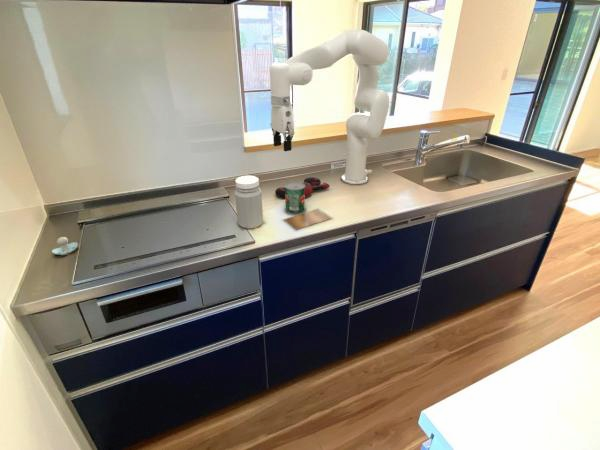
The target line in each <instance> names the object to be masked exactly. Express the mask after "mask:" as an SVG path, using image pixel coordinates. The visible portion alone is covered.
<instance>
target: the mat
mask: <svg viewBox="0 0 600 450" xmlns="http://www.w3.org/2000/svg"><path fill="white" fill-rule="evenodd" d="M331 219H332V218H331V217H330V216H328V215H327V214H326V213H324V212H322V211H321V210H319V209H318V208H316V209H314V210H311V211H308V212H307V211H306V212H303V213H302V214H299V215H293V216H291V217H288V218H284V219H283V221H284V222H285V223H287V224H288V225H289V226H290V227H292V228H293V229H294V230H295V231H297V230H300V229H303V228H307V227H309V226H312V225H316V224H320V223H322V222H325V221H328V220H331Z"/></svg>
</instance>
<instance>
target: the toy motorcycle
mask: <svg viewBox="0 0 600 450" xmlns="http://www.w3.org/2000/svg"><path fill="white" fill-rule="evenodd" d="M302 183H303V184H304V185H305V200H307V197H310V196H311V195H312V194H313V192H314V191H323V190H325V189H328V188H330V184H329V183H327V182H321V179H320V178H319V177H316V176H307V177H306V178H304V180H303V182H302ZM274 194H275V196H277V198H281V199H285V186H281V187H278V188H276V189H275V191H274Z"/></svg>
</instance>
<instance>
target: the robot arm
mask: <svg viewBox="0 0 600 450" xmlns="http://www.w3.org/2000/svg"><path fill="white" fill-rule="evenodd" d="M350 55H351V57H352V59H353V62H354V63H355V65H356V67H357V70H358V80H357V85H356V90H355V96H354V102H353V103H354V107H355V108H356V109H357V110H360V111H364V112H369V114H365V113H362V112H355V113H352V114H350V115H349V116H348V117H347V119H346V123H345V128H346V129H345V130H346V137H347V138H346V153H345V154H346V155H345V156H346V157H345V170H344V174H342V176H341V181H342V182H343V183H345V184H349V185H362V184H363V185H364V184H366V183H367V182H368V180H369V178H368V176H367V175H370V174H373V170H372V169H367V168H366V167H367V165H366V164H367V156H368V147H369V144H368V143H369V142H368V140H376V139H379V138H380V137H381V135H382V134H383V130H384V127H385V124H386V120H387V115H388V111H389V107H390V96H389V93H387V92H386V91H385V90H383V89H378V85H379V80H380V72H379V68H378V66H383V65H385V64H386V62H388V60H389V58H390V47H389V45H388V44H387V43H386V42H385V41H384V40H383V39H381V38H379V37H377V36H376V35H374V34H373V33H371V32H369V31H367V30H364V29H346V30H343V31H341V32H339V33H338V34H336V35H334V36H332V37H330V39H328V40H326V41H324V42H323V43H321V44H319V45H316V46H313V47H311V48H307V49H306V50H302V51H300V52H299V53H296V54H294V55H292V56H291V57H290V58H287V59H286V60H285V61H283V63H273V64H271V65H270V67H269V83H270V84H269V85H270V106H271V110H270V111H271V113H270V116H271V117H270V127H271V131H272V137H273V146H274V147H279V146H280V147H281V146H282V136H283V152H290V151H292V150H293V149H292V141H293V137H294V135H295V119H294V117H295V116H294V110H293V105H292V86H306V85H308V84H310V83H311V81H312V80H313V77H314V71H313V70H322V69H327V68H331V67H332V66H334V65H336V64H338V63H339V62H340V61H342V60H343V59H345V58H347V57H349V56H350ZM281 134H282V135H281Z"/></svg>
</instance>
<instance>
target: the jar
mask: <svg viewBox="0 0 600 450" xmlns="http://www.w3.org/2000/svg"><path fill="white" fill-rule="evenodd" d="M259 180H260V179H259V177H258V176H255V175H250V174H249V175H242V176H241V175H240V176H238V177H237V178H236V179H235V190H234V198H235V199H234V200H235V208H236V219H237V225H239V226H240V227H241V228H242V229H247V230H253V229H256V228H259V227H260V226H261V225H262V224H263V223H264V211H263V196H262V195H263V194H262V189H261V188H260V181H259Z"/></svg>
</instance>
